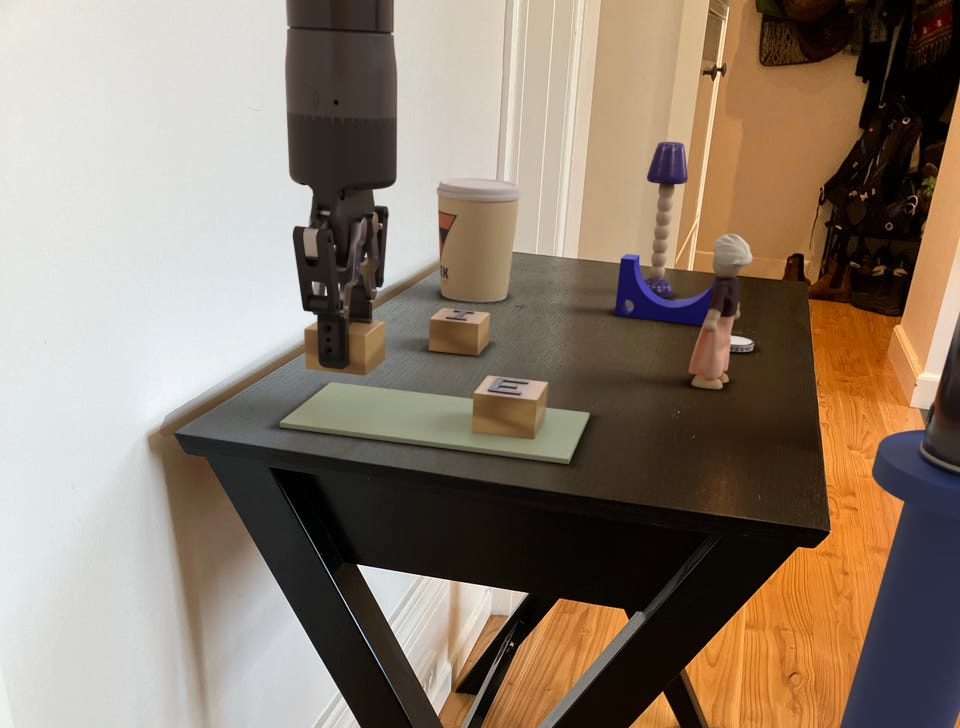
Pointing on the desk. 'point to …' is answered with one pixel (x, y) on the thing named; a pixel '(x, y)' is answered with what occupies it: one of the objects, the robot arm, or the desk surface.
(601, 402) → the desk surface
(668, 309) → the blue curved cradle
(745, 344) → the washi tape
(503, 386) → the tile
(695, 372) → the grandmother figurine
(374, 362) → the tile
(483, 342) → the tile
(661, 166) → the toy lamp
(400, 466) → the desk surface
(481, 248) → the coffee cup
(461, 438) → the word mat
